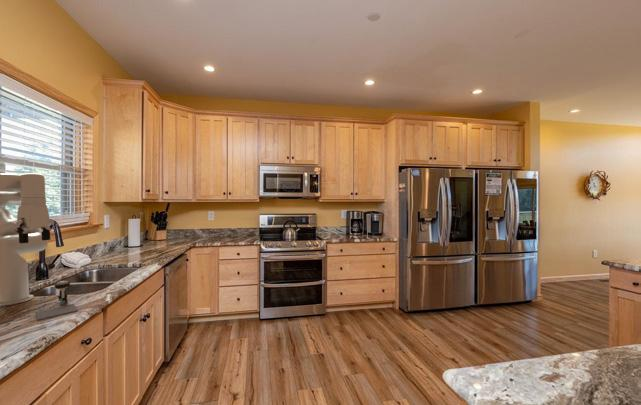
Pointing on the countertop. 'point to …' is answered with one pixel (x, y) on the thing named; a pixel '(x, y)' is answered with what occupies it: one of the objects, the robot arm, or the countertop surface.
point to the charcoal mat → (55, 312)
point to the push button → (62, 291)
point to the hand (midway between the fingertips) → (35, 241)
